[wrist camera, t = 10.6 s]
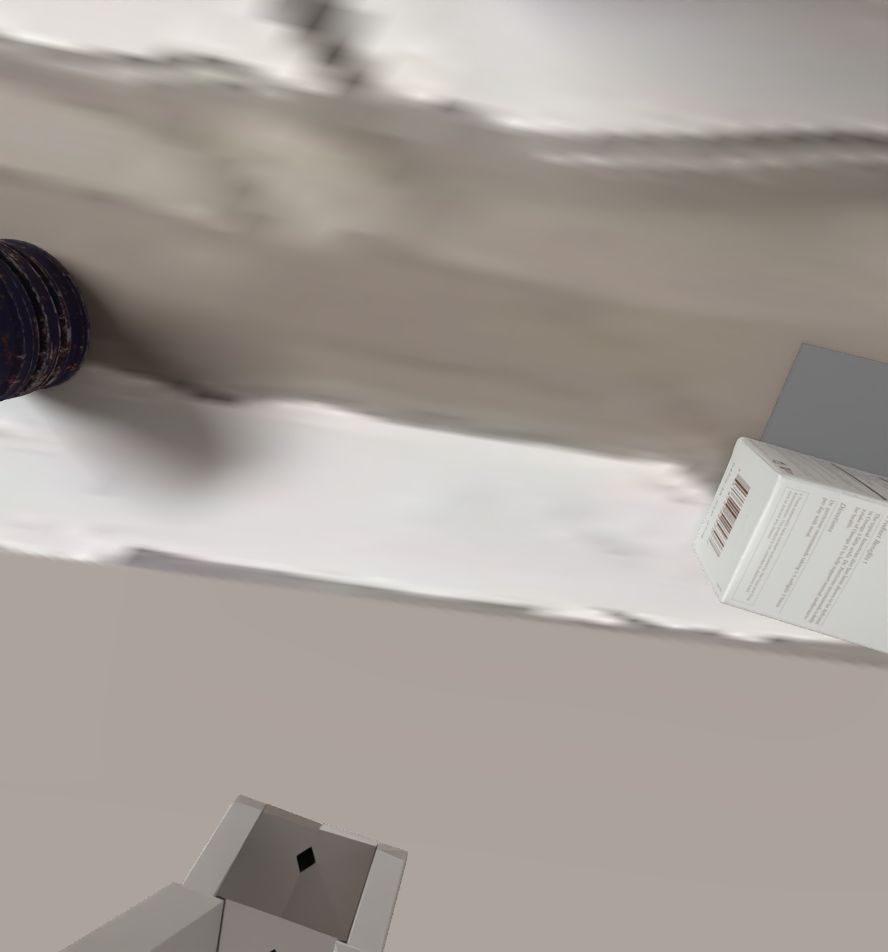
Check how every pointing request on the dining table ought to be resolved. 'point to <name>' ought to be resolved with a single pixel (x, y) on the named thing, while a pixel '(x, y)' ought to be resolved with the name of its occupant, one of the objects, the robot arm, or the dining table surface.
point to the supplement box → (800, 542)
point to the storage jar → (38, 321)
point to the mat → (834, 410)
